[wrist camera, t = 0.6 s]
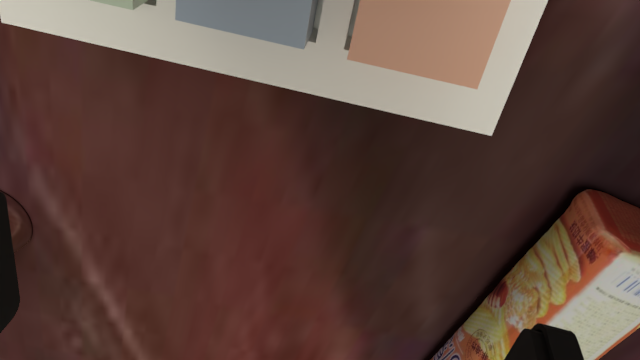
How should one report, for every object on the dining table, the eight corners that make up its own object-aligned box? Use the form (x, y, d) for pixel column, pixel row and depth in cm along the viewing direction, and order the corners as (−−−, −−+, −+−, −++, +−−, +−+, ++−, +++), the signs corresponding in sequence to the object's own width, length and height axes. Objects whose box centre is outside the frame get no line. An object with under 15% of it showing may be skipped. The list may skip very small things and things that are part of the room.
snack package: (479, 393, 45) (489, 473, 39) (408, 363, 44) (408, 441, 38) (672, 213, 33) (725, 291, 27) (580, 169, 32) (615, 240, 27)
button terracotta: (381, -93, 23) (378, -85, 21) (519, -62, 23) (530, -51, 21) (352, 41, 26) (347, 59, 24) (472, 69, 26) (477, 89, 24)
